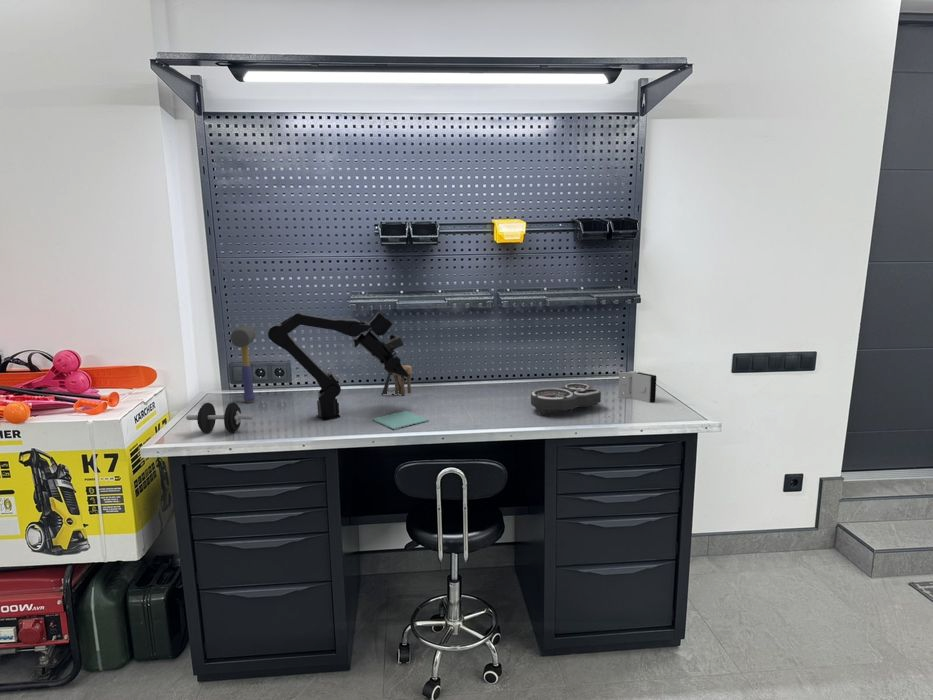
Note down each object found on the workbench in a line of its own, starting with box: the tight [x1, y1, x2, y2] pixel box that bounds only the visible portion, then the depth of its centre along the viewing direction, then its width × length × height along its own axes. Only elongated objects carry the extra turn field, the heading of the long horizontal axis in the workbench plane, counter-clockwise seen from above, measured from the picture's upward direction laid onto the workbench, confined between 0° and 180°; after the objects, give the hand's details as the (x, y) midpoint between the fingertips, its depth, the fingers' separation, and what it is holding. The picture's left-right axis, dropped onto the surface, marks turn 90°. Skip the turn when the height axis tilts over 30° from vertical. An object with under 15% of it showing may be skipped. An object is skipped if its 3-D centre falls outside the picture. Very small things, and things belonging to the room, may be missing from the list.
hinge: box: [617, 370, 657, 404], centre depth 216 cm, size 14×5×10 cm, turn 51°
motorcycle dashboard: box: [530, 382, 602, 417], centre depth 204 cm, size 26×16×7 cm, turn 121°
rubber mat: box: [372, 410, 430, 430], centre depth 195 cm, size 14×14×1 cm
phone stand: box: [381, 372, 401, 396], centre depth 230 cm, size 9×6×12 cm, turn 91°
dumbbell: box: [185, 401, 254, 434], centre depth 186 cm, size 22×10×10 cm, turn 88°
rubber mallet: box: [230, 324, 257, 404], centre depth 219 cm, size 12×8×30 cm, turn 8°
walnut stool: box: [392, 364, 413, 397], centre depth 206 cm, size 7×7×10 cm
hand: (406, 373), depth 205 cm, fingers closed on walnut stool, 7 cm apart
